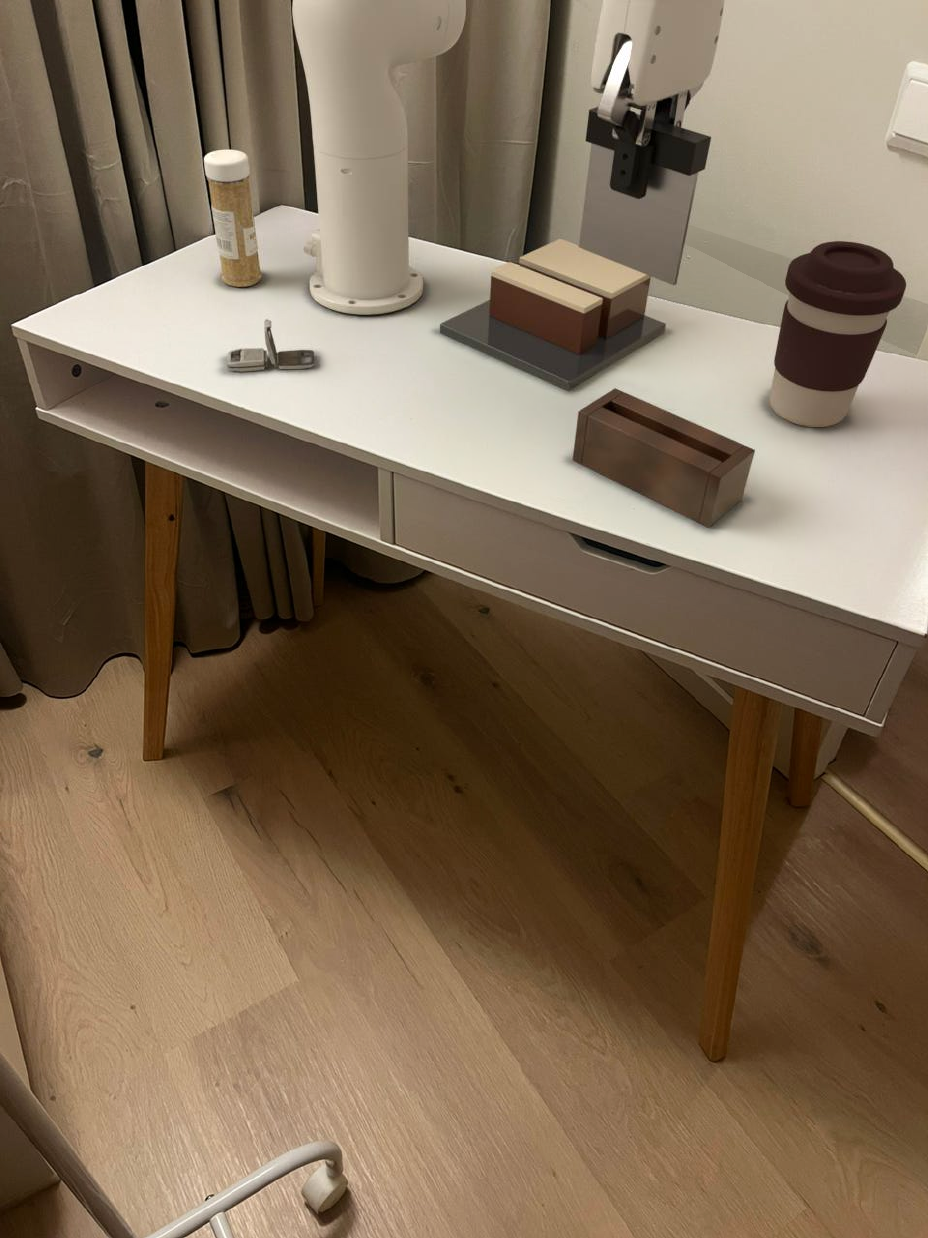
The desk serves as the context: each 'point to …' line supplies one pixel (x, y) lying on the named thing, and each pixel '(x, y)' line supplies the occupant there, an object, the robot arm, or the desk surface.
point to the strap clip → (258, 356)
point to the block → (662, 456)
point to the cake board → (548, 361)
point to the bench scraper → (642, 200)
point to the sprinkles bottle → (233, 216)
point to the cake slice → (545, 307)
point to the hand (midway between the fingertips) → (638, 186)
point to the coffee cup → (831, 329)
